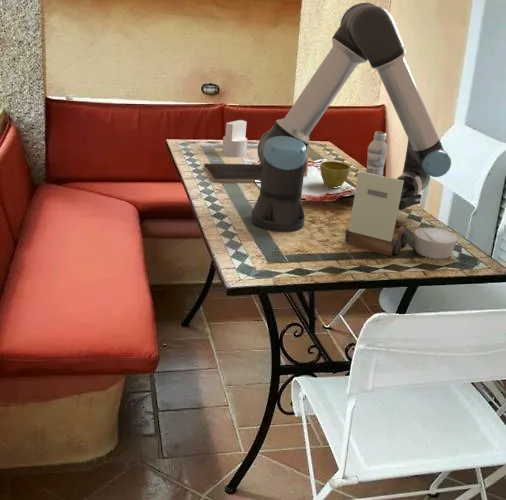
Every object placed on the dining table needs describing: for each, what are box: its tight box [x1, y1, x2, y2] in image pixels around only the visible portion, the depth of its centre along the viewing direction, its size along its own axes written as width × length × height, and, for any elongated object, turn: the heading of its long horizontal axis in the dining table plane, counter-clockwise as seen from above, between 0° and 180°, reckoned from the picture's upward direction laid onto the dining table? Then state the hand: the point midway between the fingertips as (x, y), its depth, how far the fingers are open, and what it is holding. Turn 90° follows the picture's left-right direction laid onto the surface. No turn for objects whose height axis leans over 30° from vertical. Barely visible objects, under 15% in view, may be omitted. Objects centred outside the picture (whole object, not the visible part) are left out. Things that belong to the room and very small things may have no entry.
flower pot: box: [319, 160, 352, 188], centre depth 235 cm, size 10×10×7 cm
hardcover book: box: [203, 163, 262, 183], centre depth 238 cm, size 16×23×2 cm
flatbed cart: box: [344, 222, 409, 257], centre depth 190 cm, size 13×14×5 cm
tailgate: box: [348, 170, 404, 242], centre depth 181 cm, size 1×12×16 cm, turn 64°
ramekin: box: [413, 227, 458, 260], centre depth 188 cm, size 11×11×5 cm
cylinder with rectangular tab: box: [221, 119, 248, 158], centre depth 260 cm, size 9×9×12 cm
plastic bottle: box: [365, 131, 389, 176], centre depth 230 cm, size 6×7×20 cm
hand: (381, 209), depth 184 cm, fingers closed
